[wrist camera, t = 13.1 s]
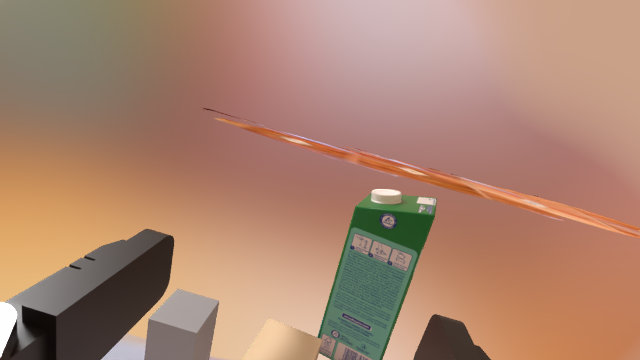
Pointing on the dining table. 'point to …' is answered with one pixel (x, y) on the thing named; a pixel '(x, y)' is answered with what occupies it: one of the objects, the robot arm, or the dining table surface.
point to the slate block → (182, 328)
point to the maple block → (283, 344)
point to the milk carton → (374, 274)
